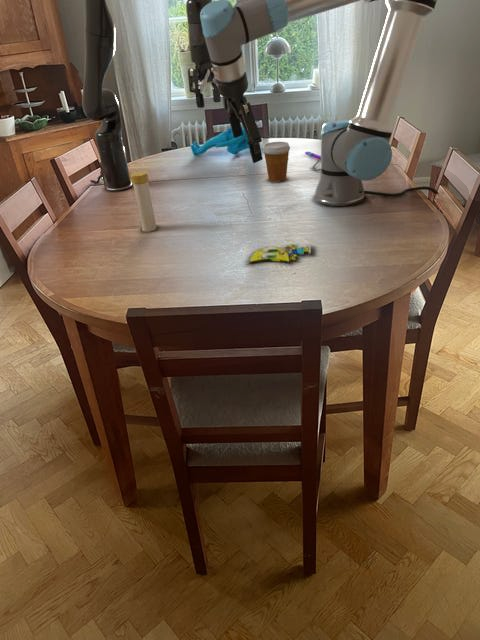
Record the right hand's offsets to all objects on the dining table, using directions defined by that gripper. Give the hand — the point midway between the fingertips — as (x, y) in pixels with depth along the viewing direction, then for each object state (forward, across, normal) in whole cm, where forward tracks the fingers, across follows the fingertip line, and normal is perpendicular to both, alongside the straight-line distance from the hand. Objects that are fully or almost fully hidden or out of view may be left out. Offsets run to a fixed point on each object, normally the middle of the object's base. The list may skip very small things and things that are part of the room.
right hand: (247, 148), depth 134 cm
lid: (-3, -6, -30) cm, 31 cm away
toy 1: (+46, -64, +8) cm, 80 cm away
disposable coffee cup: (+32, -20, +14) cm, 40 cm away
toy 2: (+8, +34, -7) cm, 35 cm away
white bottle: (+12, -1, -35) cm, 37 cm away
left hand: (-4, -21, -3) cm, 22 cm away
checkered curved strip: (+41, -27, +35) cm, 61 cm away
